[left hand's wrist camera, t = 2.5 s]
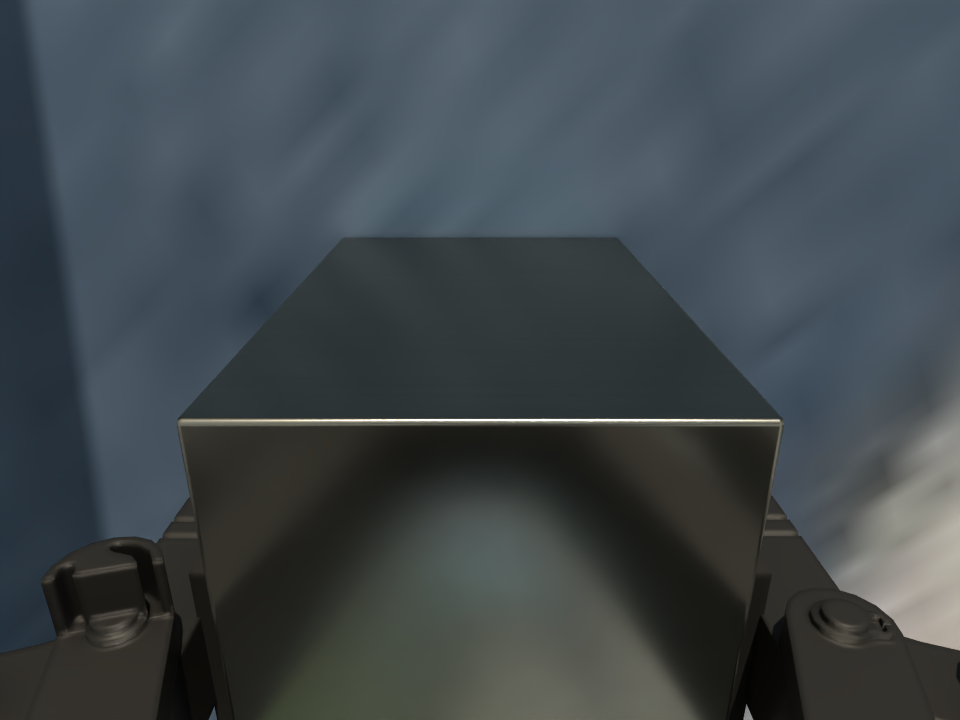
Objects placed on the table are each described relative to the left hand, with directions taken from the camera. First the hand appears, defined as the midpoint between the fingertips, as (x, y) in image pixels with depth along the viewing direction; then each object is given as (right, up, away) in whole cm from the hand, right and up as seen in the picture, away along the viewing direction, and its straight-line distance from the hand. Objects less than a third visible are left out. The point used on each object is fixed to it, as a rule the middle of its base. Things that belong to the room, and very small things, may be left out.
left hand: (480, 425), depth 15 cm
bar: (0, -7, +3) cm, 8 cm away
